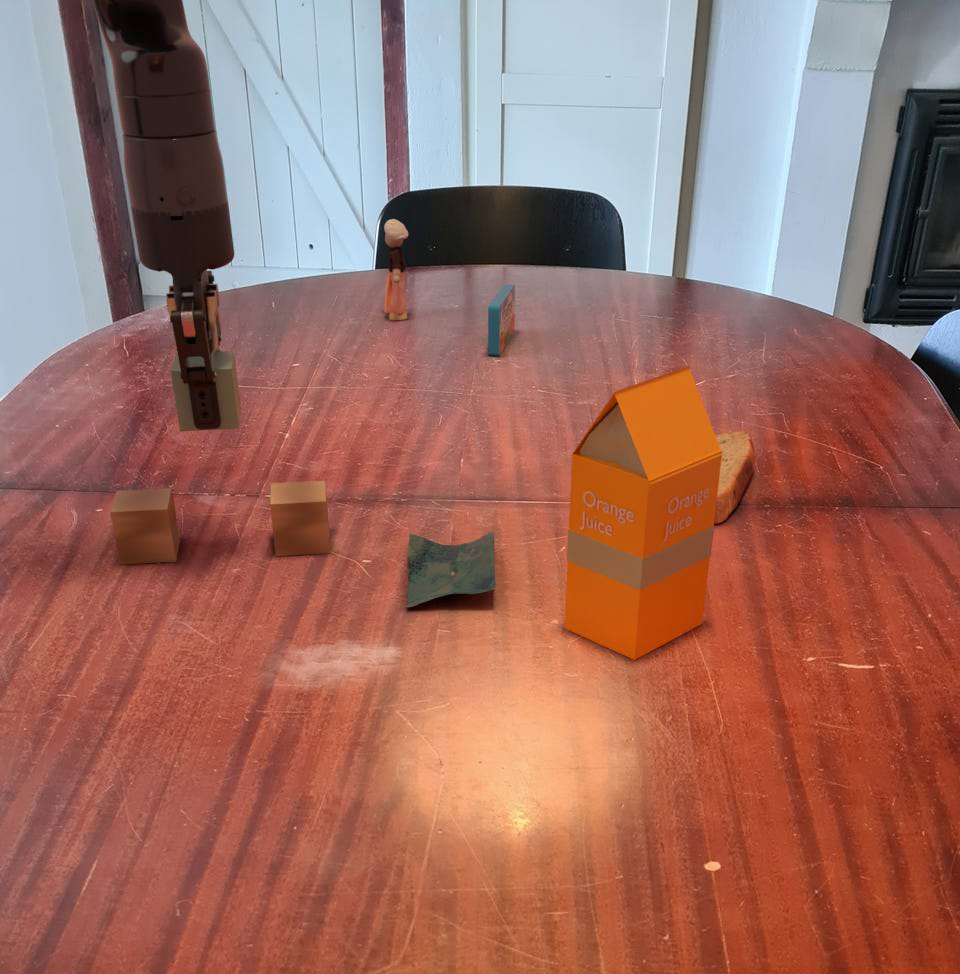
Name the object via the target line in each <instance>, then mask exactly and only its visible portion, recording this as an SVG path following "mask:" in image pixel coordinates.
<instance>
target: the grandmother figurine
mask: <svg viewBox="0 0 960 974" xmlns="http://www.w3.org/2000/svg"><path fill="white" fill-rule="evenodd" d="M383 227H384V228H383V229H384V233H385V234H384V241H385V243H386V245H387V246H388V247H389V249H388V274H387V279H386V286H385V293H384V306H383V307H384V308H383V312H384V313H387V314H388V320H389V321H406V320H408V318H409V316H408V315H409V312H408V310H407V309H406V307H407V303H406V302H407V299H406V294H405V293H406V292H405V285H406V260H405V254H404V250H403V248H402V247H401V246H402V245H403V243H404V240H406V239H407V238H408V237H409V231H408V230H407V227H406V226H405V224H404V223H402V222H401V221H399V220H397V219H395V218H392V219H389V220H387V221H386V222H385V223H384V226H383Z"/></svg>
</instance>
